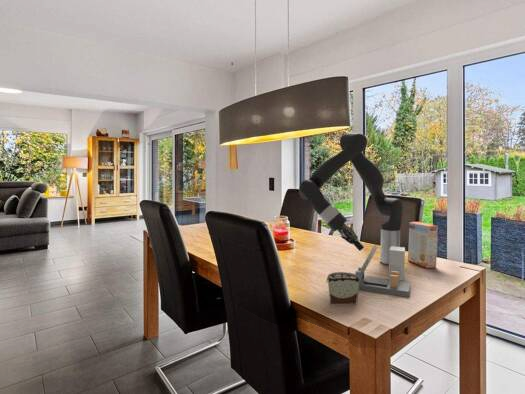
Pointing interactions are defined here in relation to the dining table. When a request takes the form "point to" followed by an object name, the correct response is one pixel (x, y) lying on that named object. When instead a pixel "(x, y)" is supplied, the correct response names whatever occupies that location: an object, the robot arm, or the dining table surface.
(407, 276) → the dining table surface
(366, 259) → the strap
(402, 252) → the small box
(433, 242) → the cracker box
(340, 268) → the dining table surface
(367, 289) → the mounting plate
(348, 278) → the food container
